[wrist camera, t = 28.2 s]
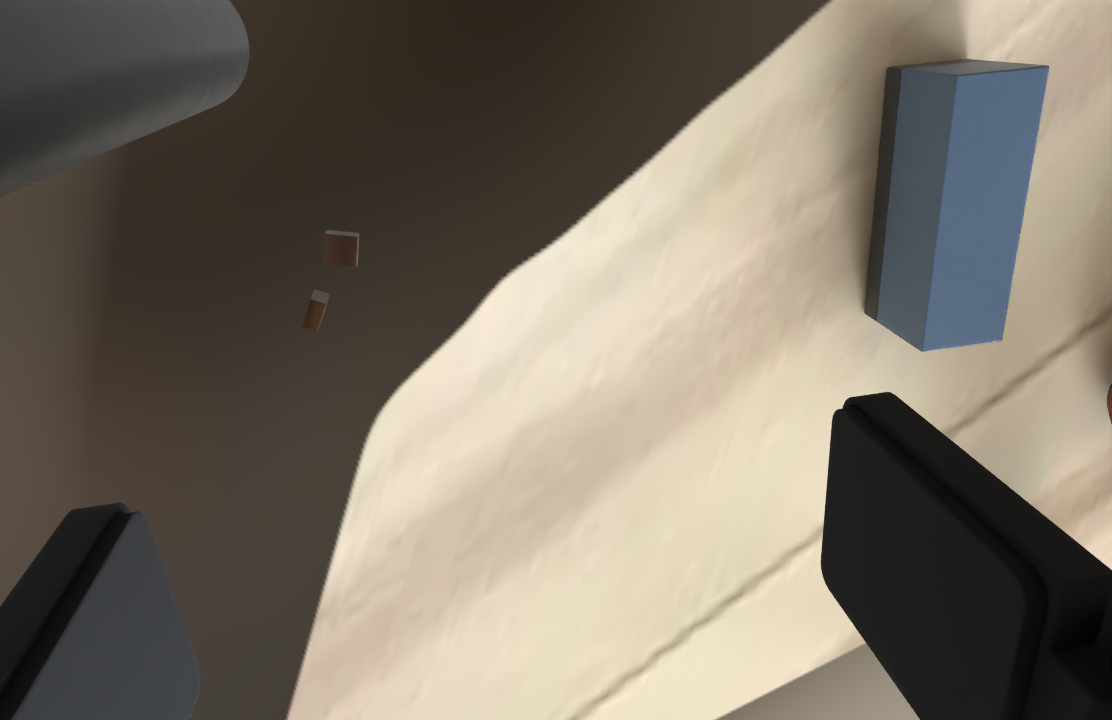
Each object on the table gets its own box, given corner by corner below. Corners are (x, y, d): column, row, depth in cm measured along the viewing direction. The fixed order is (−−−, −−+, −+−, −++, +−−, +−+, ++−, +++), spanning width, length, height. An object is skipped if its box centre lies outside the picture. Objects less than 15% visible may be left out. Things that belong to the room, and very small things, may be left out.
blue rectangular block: (936, 303, 41) (1002, 341, 36) (863, 313, 40) (921, 352, 36) (968, 58, 36) (1050, 65, 31) (886, 67, 35) (957, 74, 31)
